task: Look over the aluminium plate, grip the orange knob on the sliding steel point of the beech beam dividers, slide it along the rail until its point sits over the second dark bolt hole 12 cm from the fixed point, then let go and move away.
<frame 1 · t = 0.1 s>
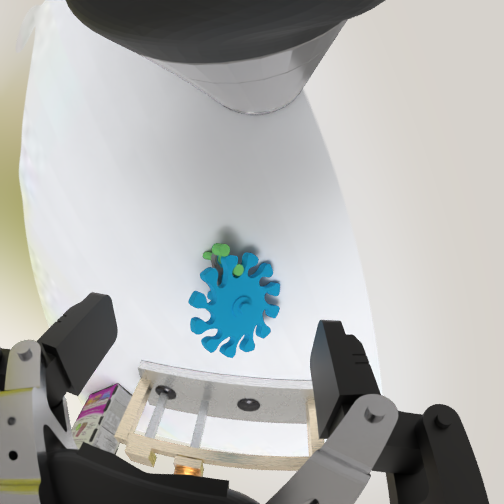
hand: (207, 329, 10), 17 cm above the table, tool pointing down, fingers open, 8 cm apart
candy bar box: (113, 396, 40), on the table
divider frame: (228, 394, 36), on the table
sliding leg: (192, 452, 26), point 11 cm above the table, slide at 6.0 cm
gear: (241, 280, 29), on the table
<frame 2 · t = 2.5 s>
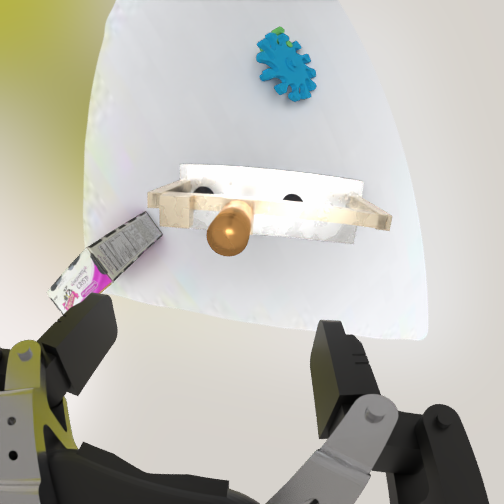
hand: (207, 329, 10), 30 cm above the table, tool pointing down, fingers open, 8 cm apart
candy bar box: (133, 241, 42), on the table
divider frame: (269, 201, 38), on the table
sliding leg: (240, 210, 28), point 11 cm above the table, slide at 6.0 cm
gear: (285, 70, 32), on the table
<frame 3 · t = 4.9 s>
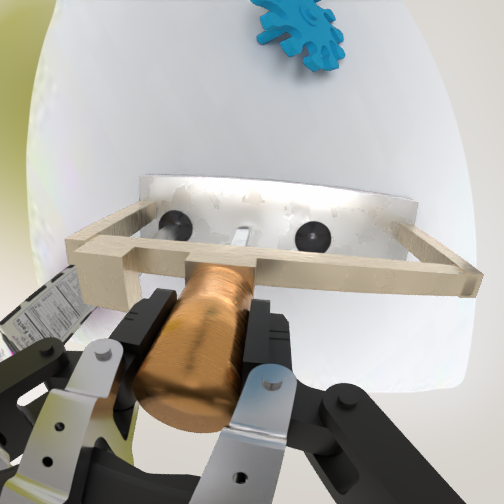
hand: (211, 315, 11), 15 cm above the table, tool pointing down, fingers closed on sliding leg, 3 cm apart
candy bar box: (90, 283, 29), on the table
divider frame: (278, 230, 25), on the table
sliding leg: (227, 270, 15), point 11 cm above the table, slide at 6.0 cm, touching gripper
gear: (297, 30, 19), on the table
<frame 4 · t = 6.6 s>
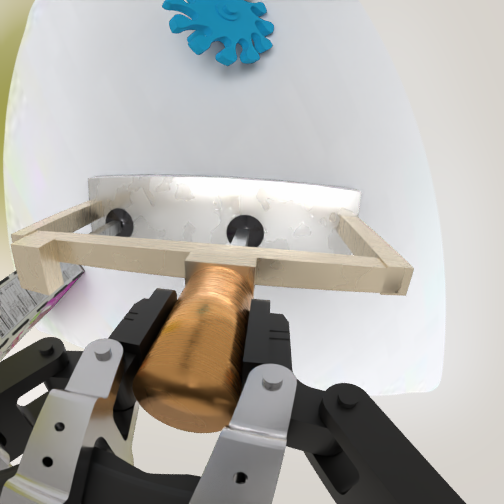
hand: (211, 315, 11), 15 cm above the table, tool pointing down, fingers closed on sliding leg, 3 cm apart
candy bar box: (57, 277, 29), on the table
divider frame: (213, 225, 25), on the table
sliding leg: (227, 270, 15), point 11 cm above the table, slide at 11.9 cm, touching gripper
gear: (229, 27, 19), on the table
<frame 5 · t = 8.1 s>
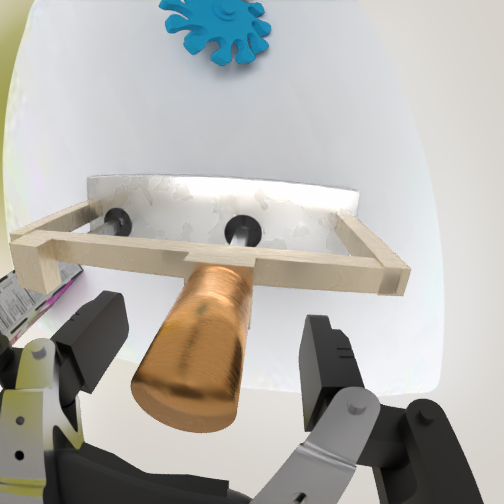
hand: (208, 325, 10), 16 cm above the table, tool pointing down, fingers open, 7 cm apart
candy bar box: (56, 276, 29), on the table
divider frame: (211, 225, 25), on the table
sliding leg: (226, 270, 15), point 11 cm above the table, slide at 12.0 cm
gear: (226, 27, 19), on the table
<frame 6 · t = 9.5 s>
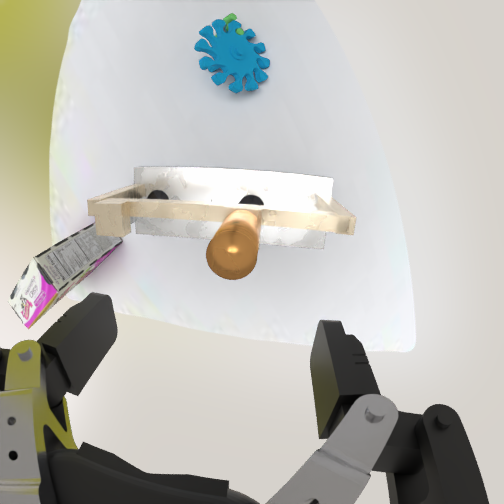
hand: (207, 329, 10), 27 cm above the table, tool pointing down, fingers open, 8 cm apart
candy bar box: (96, 248, 39), on the table
divider frame: (228, 203, 35), on the table
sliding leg: (244, 219, 25), point 11 cm above the table, slide at 12.0 cm
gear: (238, 60, 29), on the table
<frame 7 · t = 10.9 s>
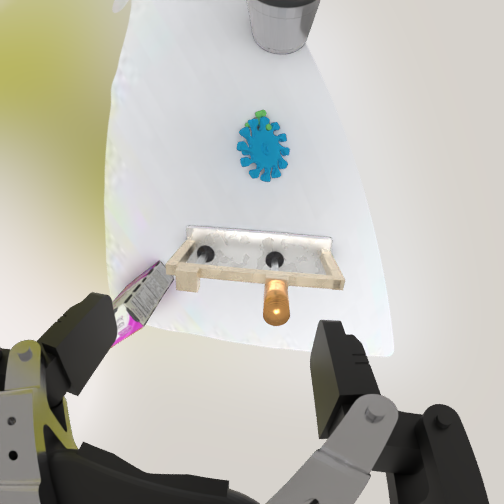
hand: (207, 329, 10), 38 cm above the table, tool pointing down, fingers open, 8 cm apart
candy bar box: (150, 282, 54), on the table
divider frame: (257, 255, 50), on the table
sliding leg: (275, 280, 39), point 11 cm above the table, slide at 12.0 cm
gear: (264, 145, 43), on the table
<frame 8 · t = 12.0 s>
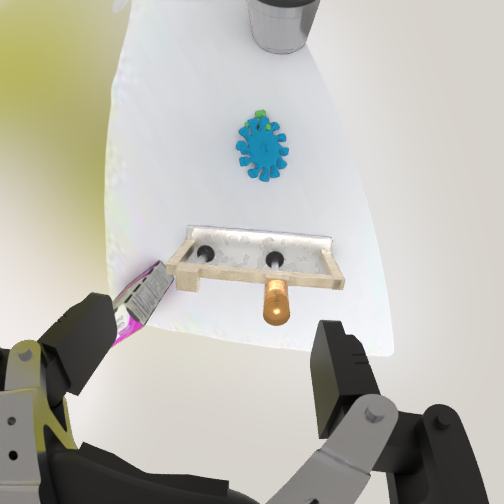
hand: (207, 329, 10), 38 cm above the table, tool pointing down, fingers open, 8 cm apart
candy bar box: (150, 282, 54), on the table
divider frame: (257, 255, 50), on the table
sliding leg: (275, 280, 39), point 11 cm above the table, slide at 12.0 cm
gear: (264, 145, 43), on the table
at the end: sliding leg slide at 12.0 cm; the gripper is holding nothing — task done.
